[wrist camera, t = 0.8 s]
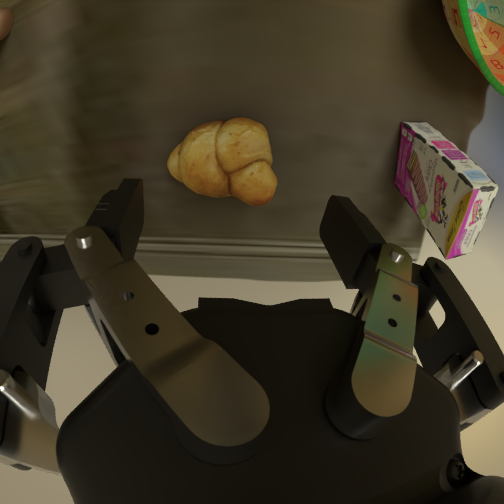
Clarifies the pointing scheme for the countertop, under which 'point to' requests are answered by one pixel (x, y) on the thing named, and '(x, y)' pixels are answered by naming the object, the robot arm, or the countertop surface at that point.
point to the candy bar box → (443, 188)
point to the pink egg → (6, 22)
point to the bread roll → (226, 161)
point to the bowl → (480, 35)
